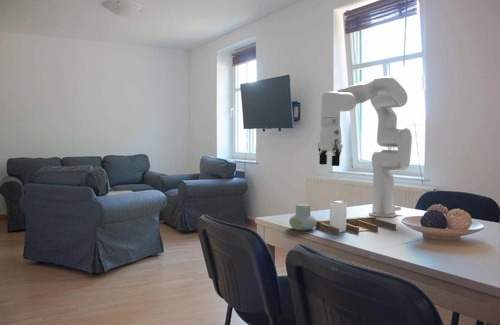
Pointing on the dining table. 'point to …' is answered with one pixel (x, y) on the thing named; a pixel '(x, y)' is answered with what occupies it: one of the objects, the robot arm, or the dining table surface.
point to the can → (338, 214)
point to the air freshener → (302, 218)
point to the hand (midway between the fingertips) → (329, 165)
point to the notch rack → (356, 225)
